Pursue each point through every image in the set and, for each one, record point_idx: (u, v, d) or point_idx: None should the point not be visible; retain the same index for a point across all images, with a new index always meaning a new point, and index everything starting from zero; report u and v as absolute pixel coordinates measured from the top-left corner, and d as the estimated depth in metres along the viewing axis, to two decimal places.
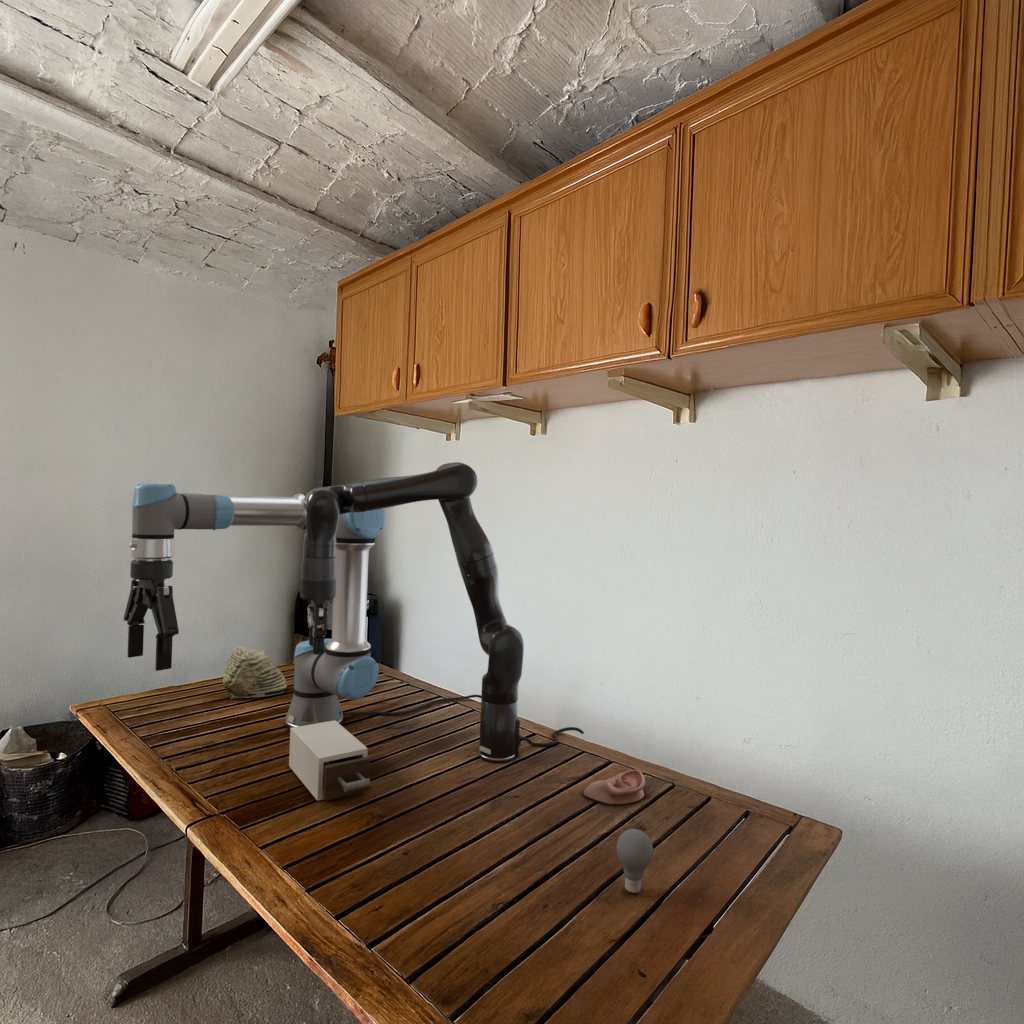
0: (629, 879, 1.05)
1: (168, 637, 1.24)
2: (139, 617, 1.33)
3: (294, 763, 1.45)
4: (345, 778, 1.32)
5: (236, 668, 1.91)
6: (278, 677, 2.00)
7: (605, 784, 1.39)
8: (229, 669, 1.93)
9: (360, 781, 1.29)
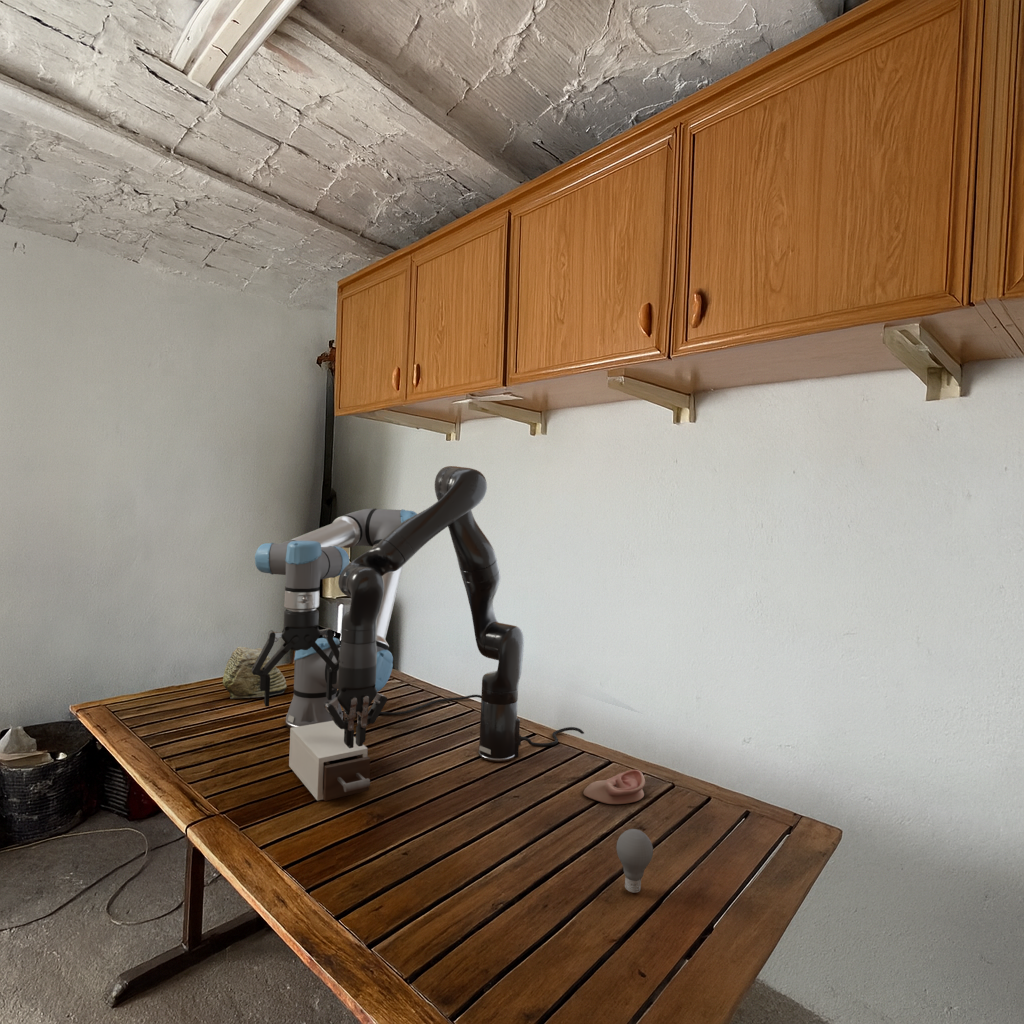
0: (629, 879, 1.05)
1: None
2: None
3: (294, 763, 1.45)
4: (345, 778, 1.32)
5: (236, 668, 1.91)
6: (278, 677, 2.00)
7: (605, 784, 1.39)
8: (229, 669, 1.93)
9: (360, 781, 1.29)
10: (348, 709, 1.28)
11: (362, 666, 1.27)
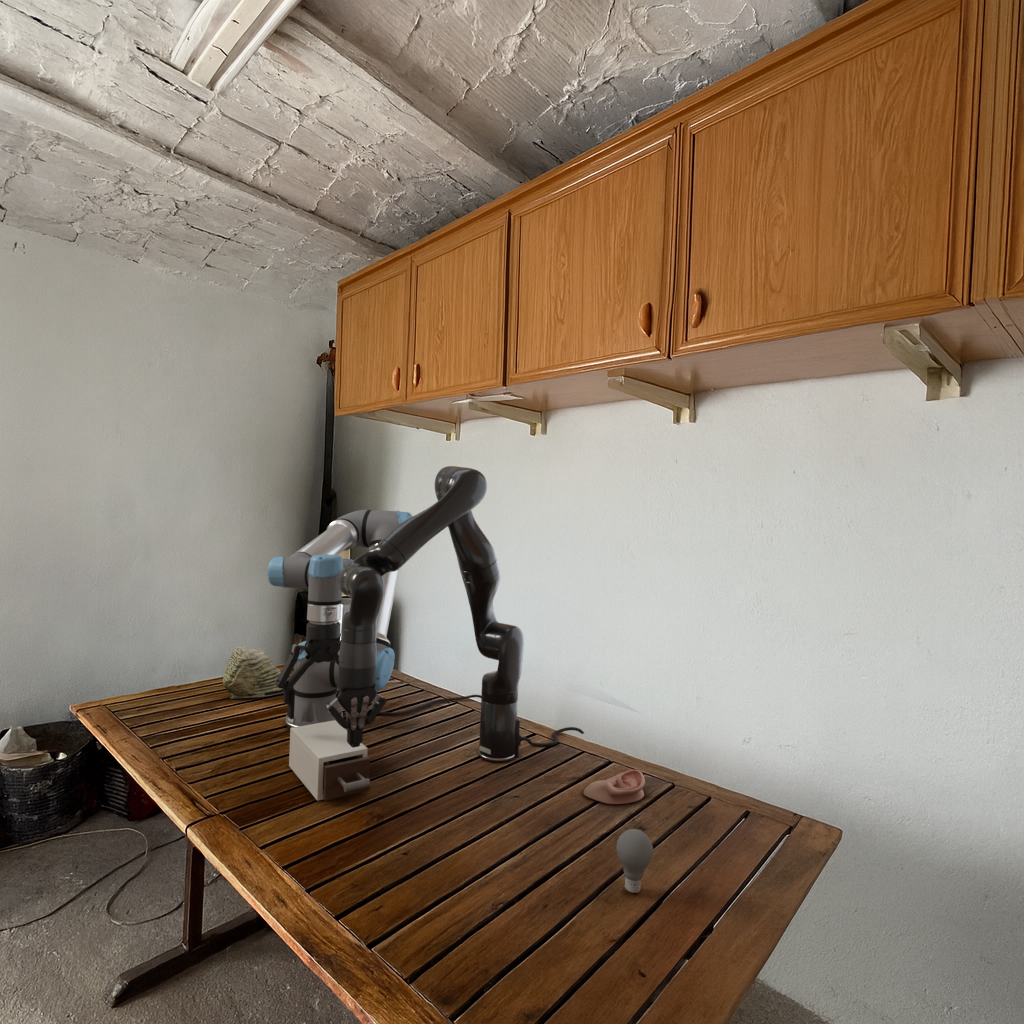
0: (629, 879, 1.05)
1: None
2: None
3: (294, 763, 1.45)
4: (345, 778, 1.32)
5: (236, 668, 1.91)
6: None
7: (605, 784, 1.39)
8: (229, 669, 1.93)
9: (360, 781, 1.29)
10: (348, 709, 1.28)
11: (362, 666, 1.27)
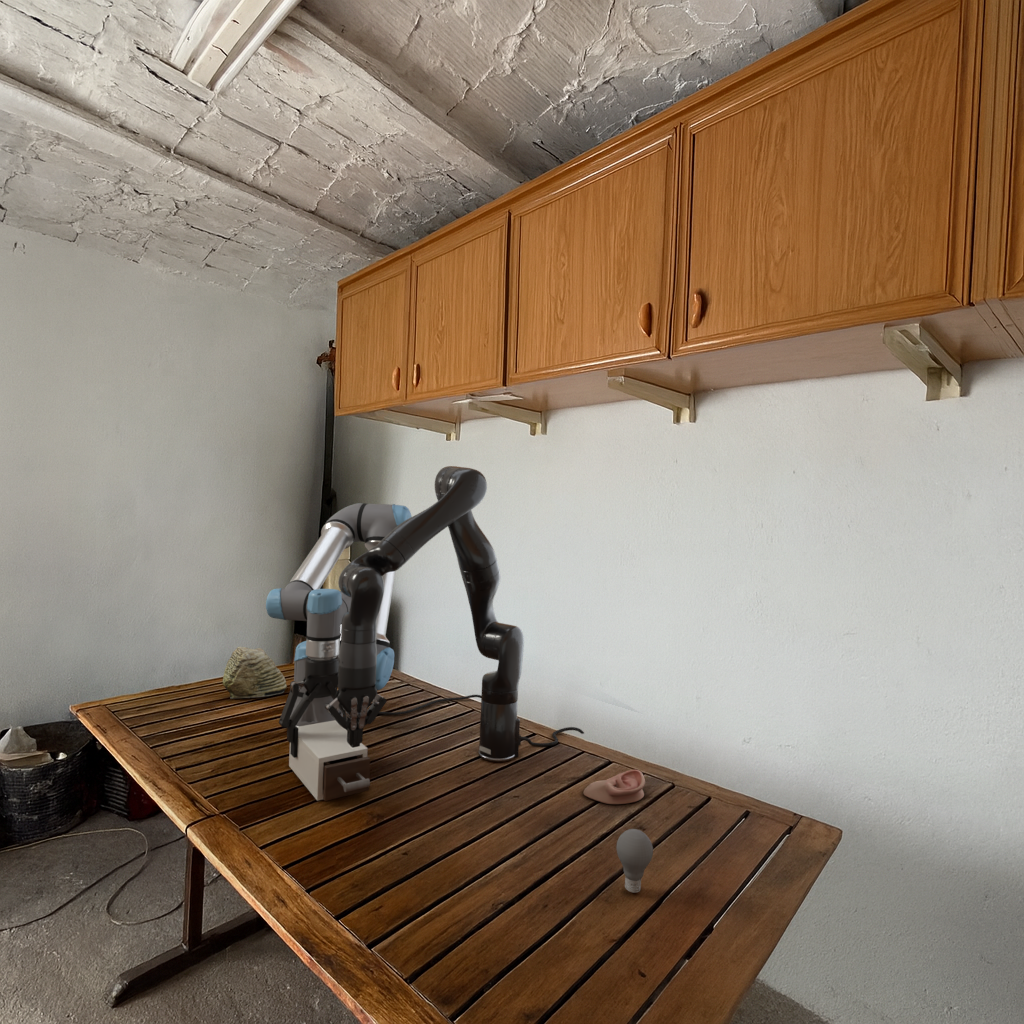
0: (629, 879, 1.05)
1: None
2: None
3: (294, 763, 1.45)
4: (345, 778, 1.32)
5: (236, 668, 1.91)
6: (278, 677, 2.00)
7: (605, 784, 1.39)
8: (229, 669, 1.93)
9: (360, 781, 1.29)
10: (348, 709, 1.28)
11: (362, 666, 1.27)
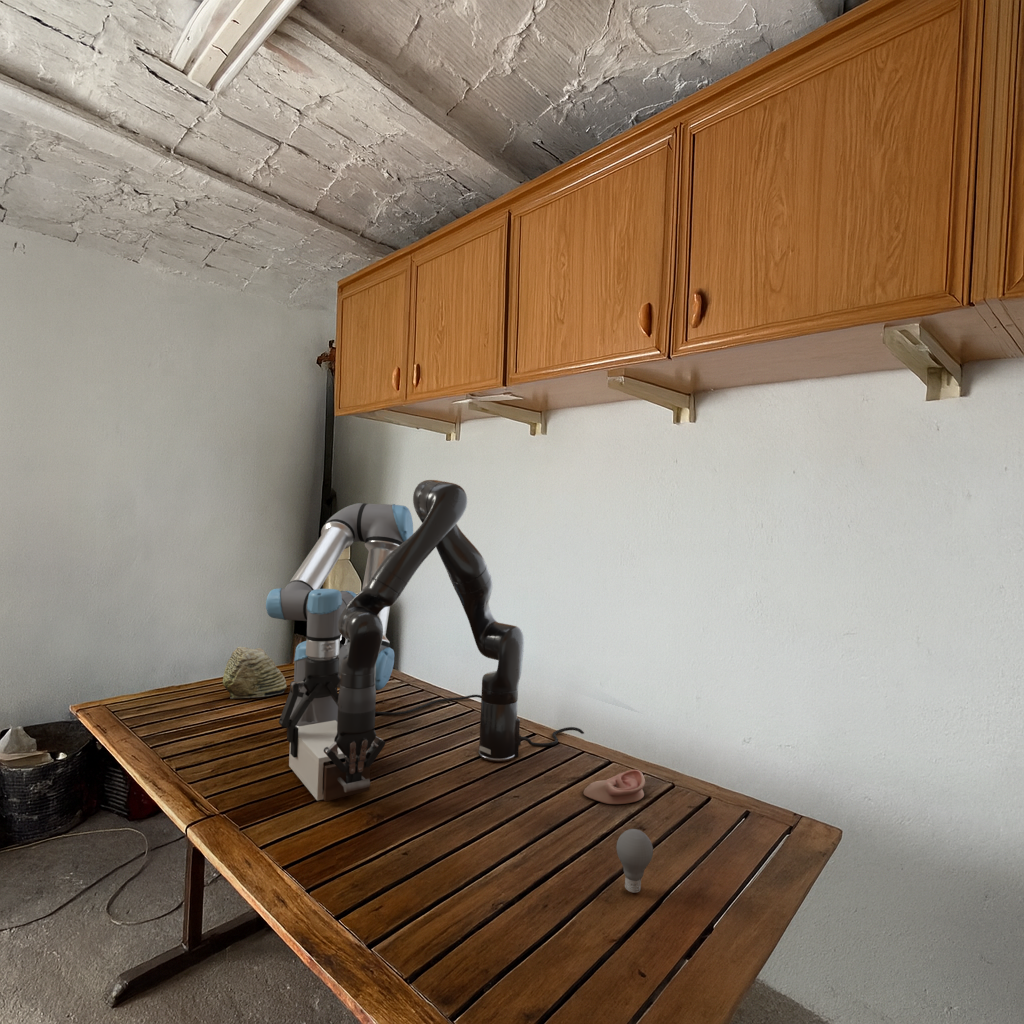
0: (629, 879, 1.05)
1: None
2: None
3: (294, 763, 1.45)
4: (345, 778, 1.32)
5: (236, 668, 1.91)
6: (278, 677, 2.00)
7: (605, 784, 1.39)
8: (229, 669, 1.93)
9: (360, 781, 1.29)
10: (347, 753, 1.28)
11: (361, 711, 1.26)
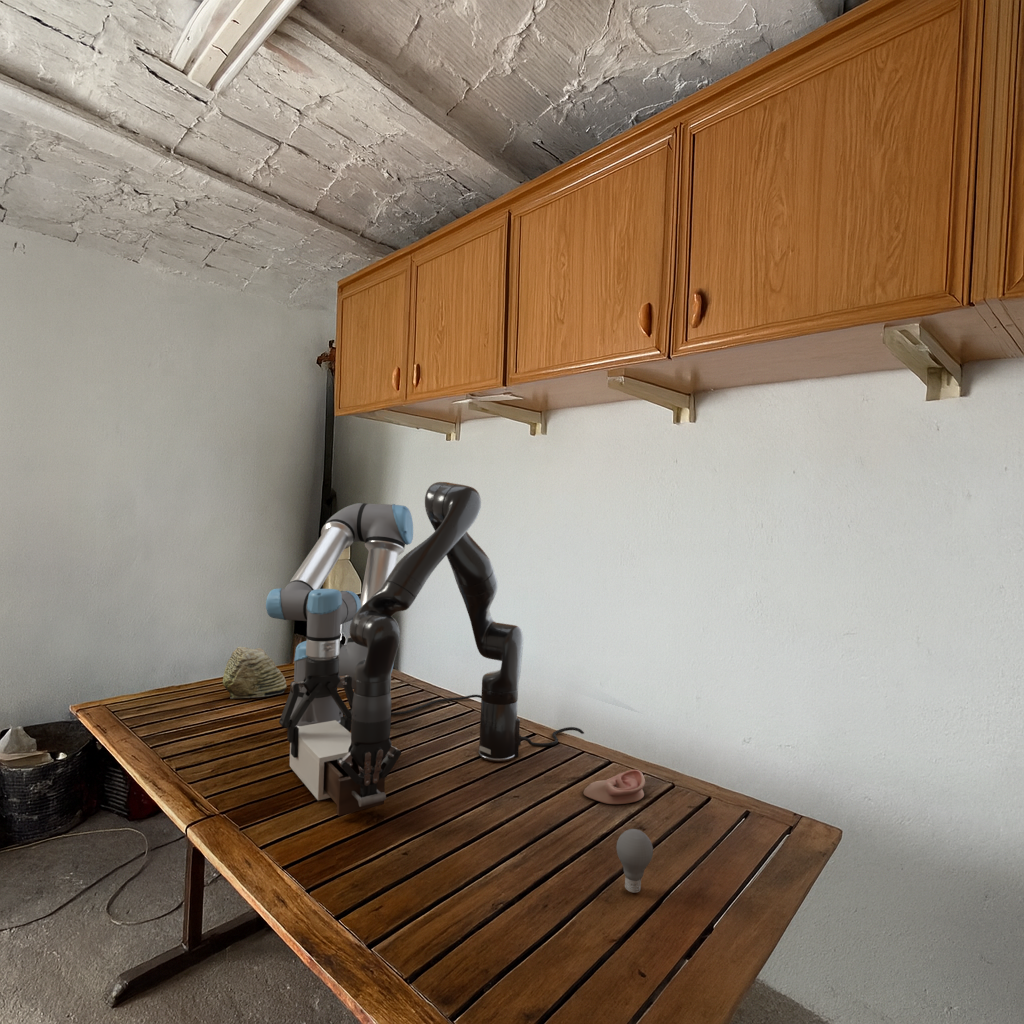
0: (629, 879, 1.05)
1: None
2: None
3: (294, 763, 1.45)
4: (359, 791, 1.26)
5: (236, 668, 1.91)
6: (278, 677, 2.00)
7: (605, 784, 1.39)
8: (229, 669, 1.93)
9: (375, 795, 1.23)
10: (361, 764, 1.22)
11: (376, 720, 1.21)
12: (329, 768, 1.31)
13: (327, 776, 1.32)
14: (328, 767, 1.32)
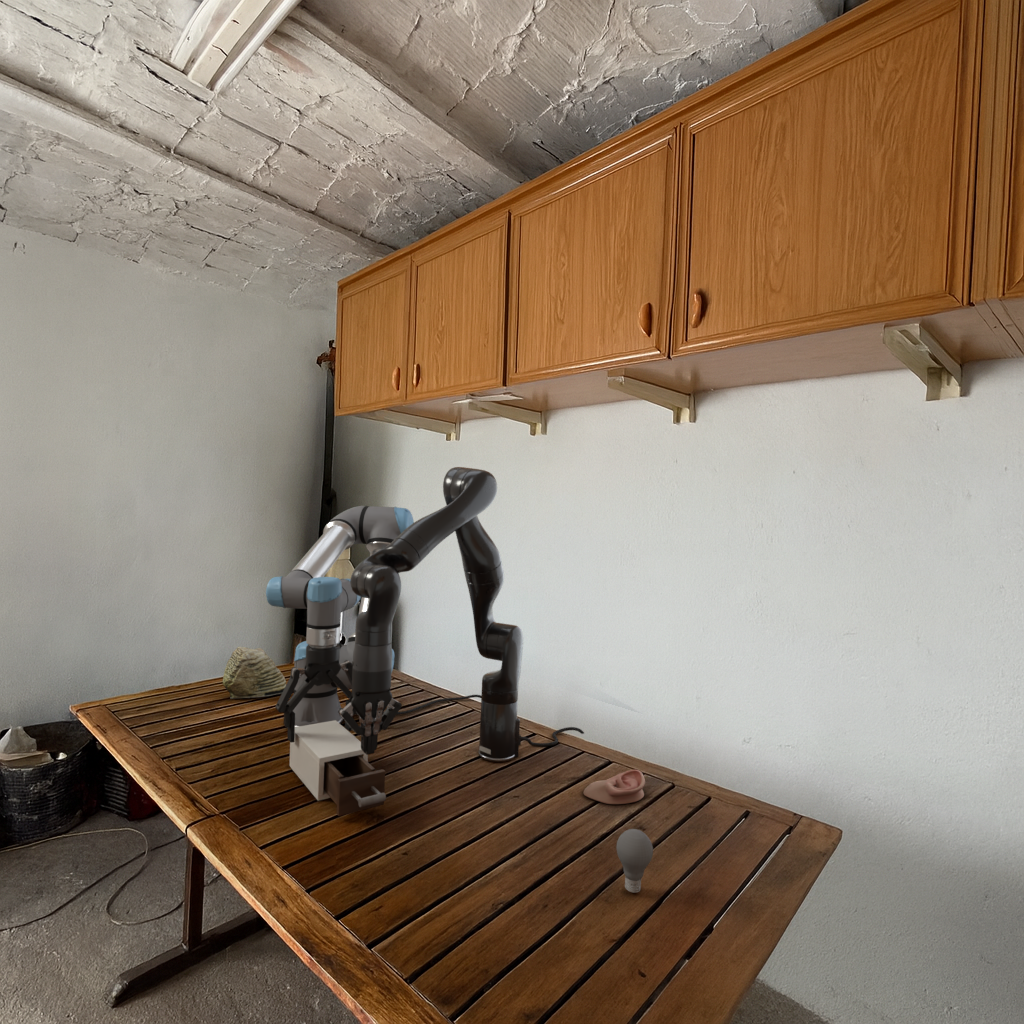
0: (629, 879, 1.05)
1: None
2: None
3: (294, 763, 1.45)
4: (359, 792, 1.26)
5: (236, 668, 1.91)
6: (278, 677, 2.00)
7: (605, 784, 1.39)
8: (229, 669, 1.93)
9: (375, 796, 1.23)
10: (362, 714, 1.22)
11: (377, 669, 1.21)
12: (329, 768, 1.31)
13: (327, 776, 1.32)
14: (328, 767, 1.32)
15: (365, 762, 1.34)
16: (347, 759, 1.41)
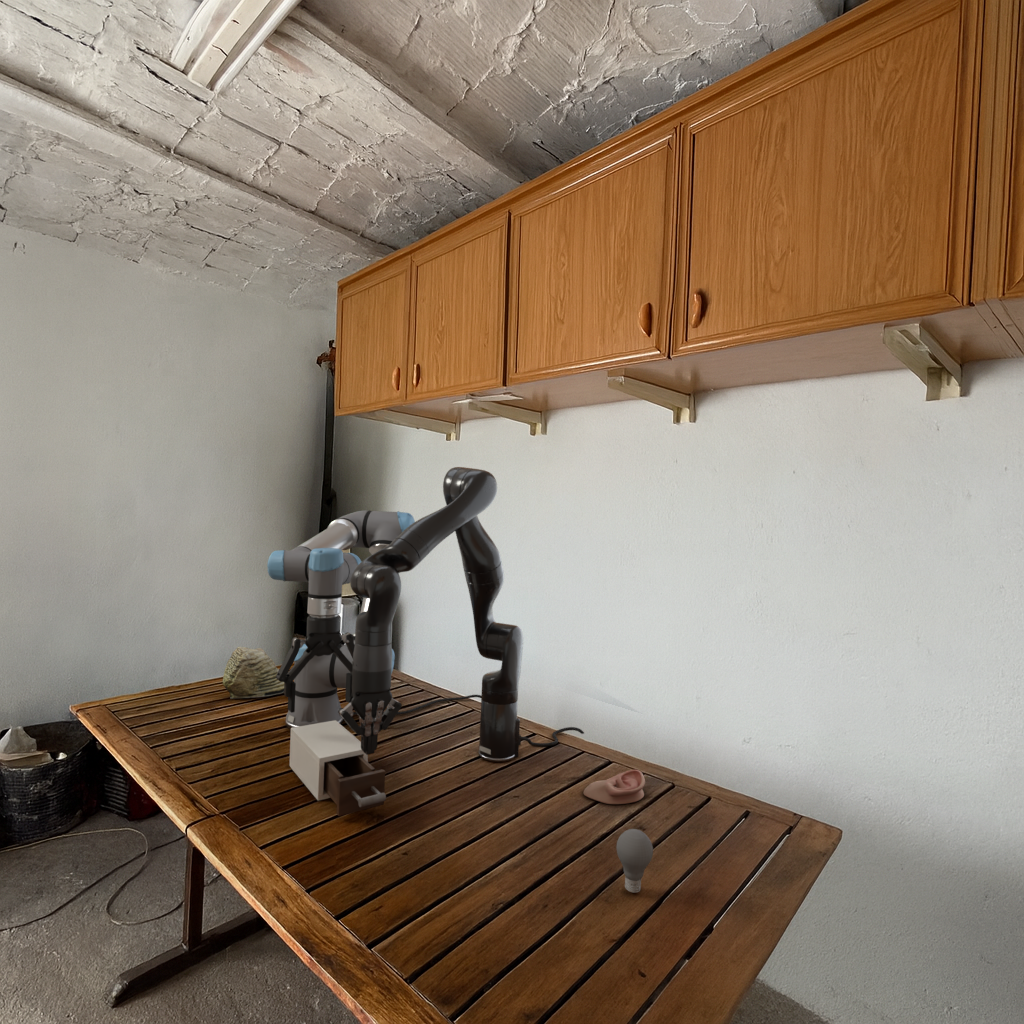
0: (629, 879, 1.05)
1: None
2: None
3: (294, 763, 1.45)
4: (359, 792, 1.26)
5: (236, 668, 1.91)
6: None
7: (605, 784, 1.39)
8: (229, 669, 1.93)
9: (375, 796, 1.23)
10: (362, 714, 1.22)
11: (377, 669, 1.21)
12: (329, 768, 1.31)
13: (327, 776, 1.32)
14: (328, 767, 1.32)
15: (365, 762, 1.34)
16: (347, 759, 1.41)
